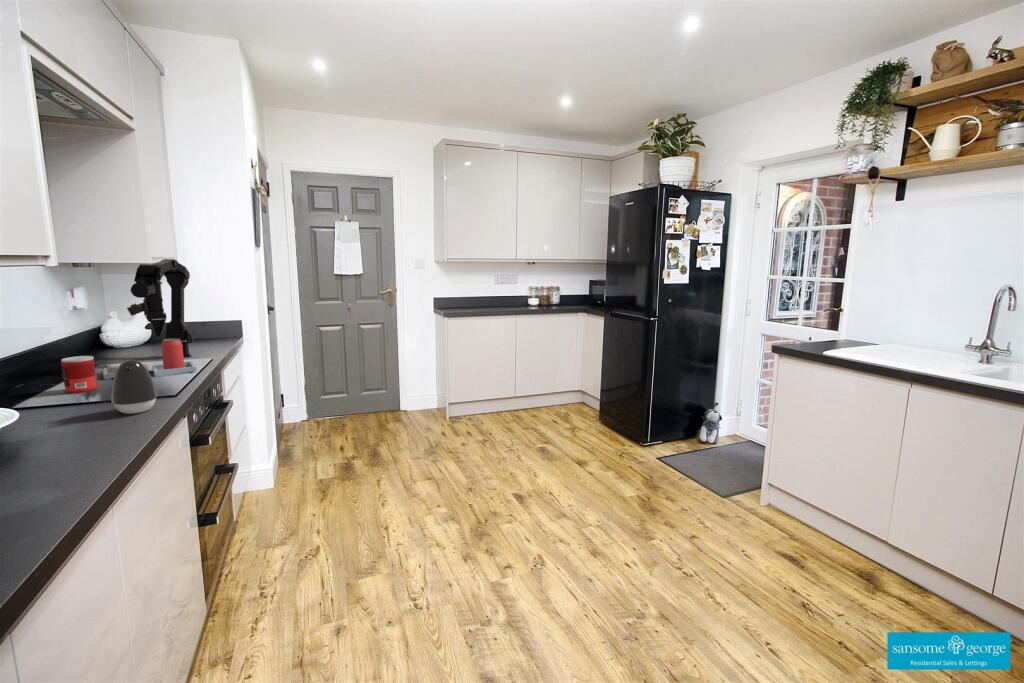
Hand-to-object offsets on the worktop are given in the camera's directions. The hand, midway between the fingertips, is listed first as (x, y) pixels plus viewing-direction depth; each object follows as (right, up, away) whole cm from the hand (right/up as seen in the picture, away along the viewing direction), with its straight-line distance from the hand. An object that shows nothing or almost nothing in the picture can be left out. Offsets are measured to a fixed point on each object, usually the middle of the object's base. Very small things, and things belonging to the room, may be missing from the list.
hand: (157, 334), depth 192 cm
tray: (+11, -14, -6) cm, 19 cm away
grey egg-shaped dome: (+35, -23, -55) cm, 69 cm away
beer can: (+11, -14, -6) cm, 19 cm away
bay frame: (-3, -15, -12) cm, 19 cm away
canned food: (+1, -19, -34) cm, 39 cm away
